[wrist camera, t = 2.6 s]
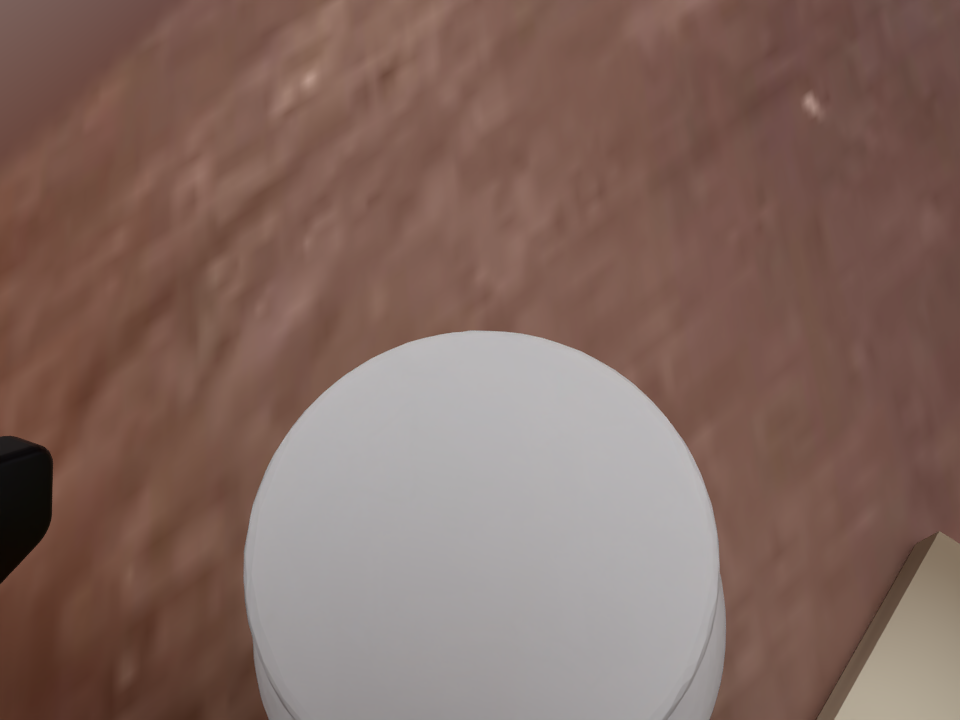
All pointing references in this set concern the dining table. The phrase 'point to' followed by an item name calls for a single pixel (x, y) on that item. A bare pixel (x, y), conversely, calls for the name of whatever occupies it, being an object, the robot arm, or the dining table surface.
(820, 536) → the dining table surface
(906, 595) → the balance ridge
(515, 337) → the supplement bottle
